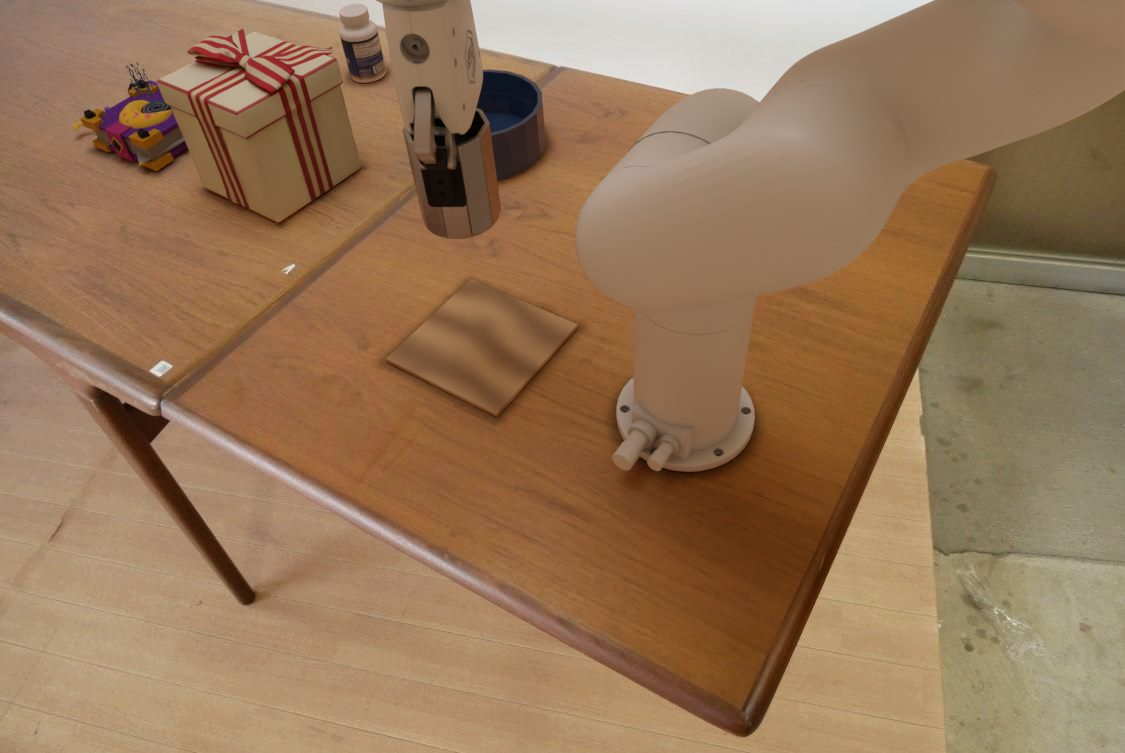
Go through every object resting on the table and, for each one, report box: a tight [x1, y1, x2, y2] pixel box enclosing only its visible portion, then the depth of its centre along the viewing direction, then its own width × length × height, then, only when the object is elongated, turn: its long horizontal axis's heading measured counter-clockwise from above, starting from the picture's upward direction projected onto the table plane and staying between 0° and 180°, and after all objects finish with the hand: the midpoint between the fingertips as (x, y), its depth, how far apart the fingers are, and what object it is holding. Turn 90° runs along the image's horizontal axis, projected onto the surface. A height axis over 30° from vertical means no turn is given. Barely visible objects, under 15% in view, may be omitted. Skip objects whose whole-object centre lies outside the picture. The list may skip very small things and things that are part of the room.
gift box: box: [156, 28, 362, 223], centre depth 102 cm, size 17×18×17 cm
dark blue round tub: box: [476, 68, 547, 182], centre depth 108 cm, size 16×16×6 cm
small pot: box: [402, 108, 502, 240], centre depth 72 cm, size 7×7×9 cm
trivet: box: [385, 278, 579, 418], centre depth 86 cm, size 14×14×1 cm
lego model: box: [71, 61, 188, 172], centre depth 111 cm, size 15×25×12 cm, turn 59°
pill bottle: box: [338, 3, 387, 84], centre depth 121 cm, size 5×5×10 cm
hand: (455, 176), depth 72 cm, fingers closed on small pot, 7 cm apart
